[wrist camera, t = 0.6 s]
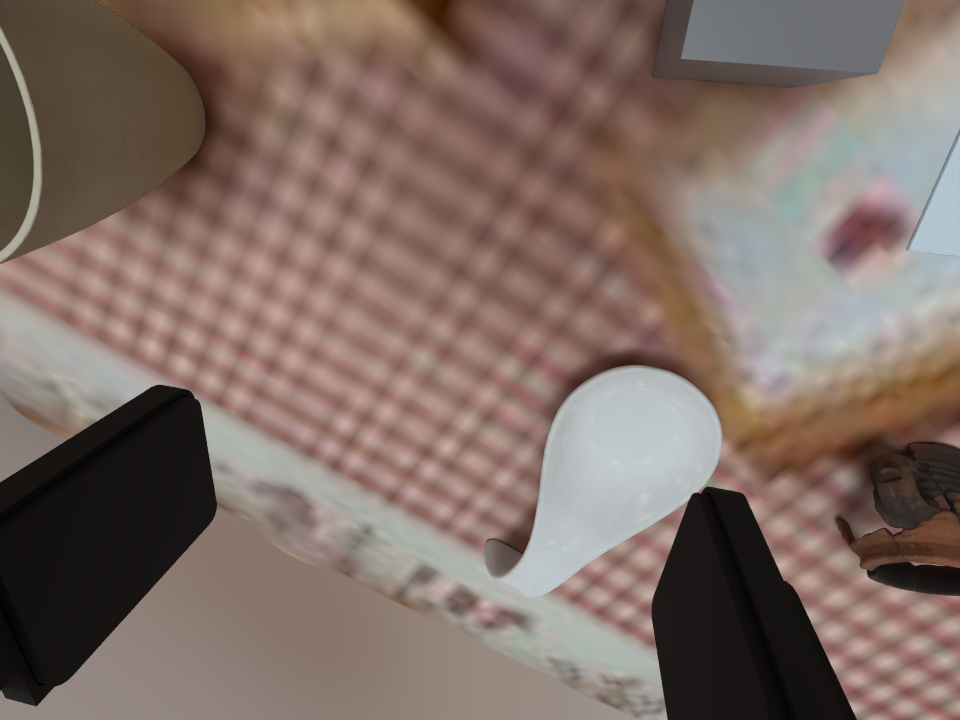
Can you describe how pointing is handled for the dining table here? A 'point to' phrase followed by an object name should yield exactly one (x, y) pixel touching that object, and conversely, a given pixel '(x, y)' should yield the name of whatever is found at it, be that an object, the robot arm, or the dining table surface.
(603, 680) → the dining table surface
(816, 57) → the plain gray box
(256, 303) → the dining table surface
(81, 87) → the plant pot
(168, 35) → the dining table surface
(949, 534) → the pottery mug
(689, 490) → the spoon rest
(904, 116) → the dining table surface
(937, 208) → the pale gray panel
